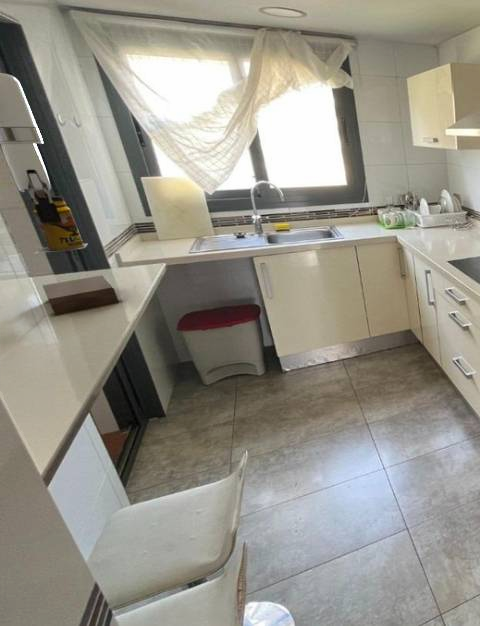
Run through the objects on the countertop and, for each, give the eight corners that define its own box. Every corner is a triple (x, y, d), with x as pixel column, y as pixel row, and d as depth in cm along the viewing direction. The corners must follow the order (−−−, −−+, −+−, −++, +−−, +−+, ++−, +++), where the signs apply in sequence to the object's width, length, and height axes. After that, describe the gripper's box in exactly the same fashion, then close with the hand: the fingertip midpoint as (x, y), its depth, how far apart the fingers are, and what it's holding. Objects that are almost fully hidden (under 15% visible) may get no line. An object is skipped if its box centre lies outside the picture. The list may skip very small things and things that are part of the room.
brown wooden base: (55, 315, 104) (47, 299, 102) (48, 300, 114) (42, 285, 112) (119, 302, 112) (113, 287, 110) (108, 289, 121) (102, 275, 120)
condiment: (85, 248, 108) (64, 196, 104) (33, 254, 103) (9, 200, 99) (88, 244, 113) (69, 194, 109) (39, 249, 108) (17, 197, 104)
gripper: (-11, 137, 101) (24, 218, 108) (-10, 136, 91) (29, 227, 97) (38, 136, 107) (68, 214, 113) (44, 136, 96) (77, 222, 103)
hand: (50, 219), depth 105 cm, fingers closed on condiment, 6 cm apart
